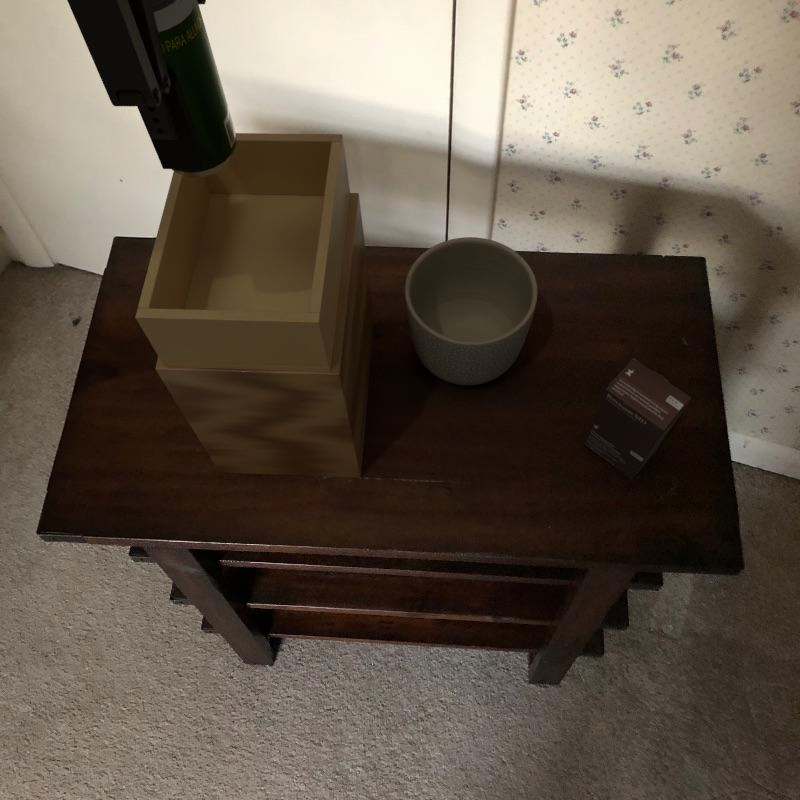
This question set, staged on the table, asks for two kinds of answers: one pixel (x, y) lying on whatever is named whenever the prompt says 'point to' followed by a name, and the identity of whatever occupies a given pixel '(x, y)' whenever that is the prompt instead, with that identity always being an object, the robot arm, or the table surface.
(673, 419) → the box
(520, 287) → the planter
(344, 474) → the stand
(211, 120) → the beer can
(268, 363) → the open bin
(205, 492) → the table surface
